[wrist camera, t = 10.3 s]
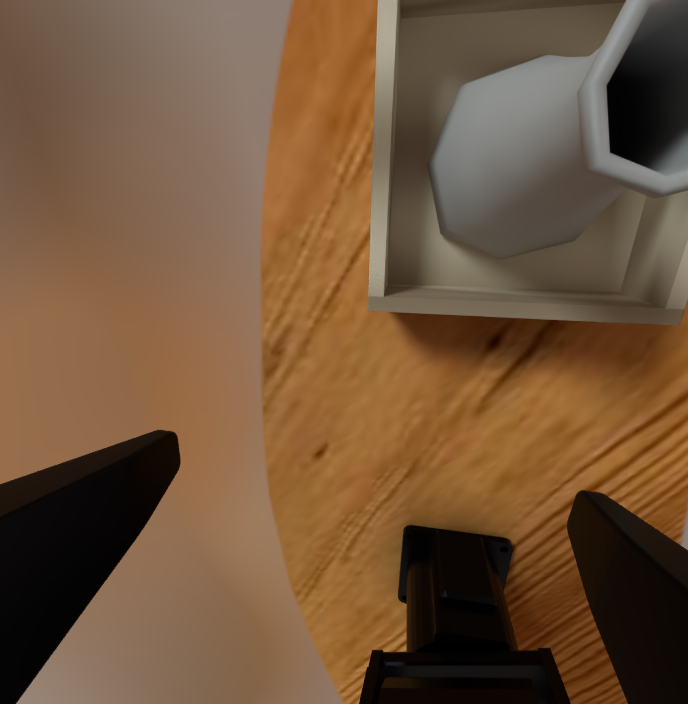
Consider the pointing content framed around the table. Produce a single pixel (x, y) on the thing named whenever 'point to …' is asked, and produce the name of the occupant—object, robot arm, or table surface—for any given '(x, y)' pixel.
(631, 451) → the table surface
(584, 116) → the flask
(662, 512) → the table surface
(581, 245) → the crate
